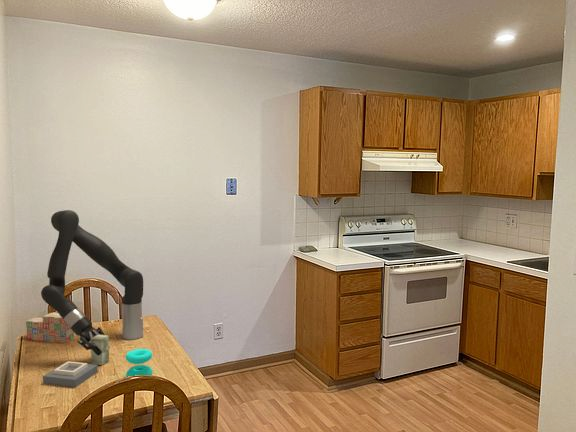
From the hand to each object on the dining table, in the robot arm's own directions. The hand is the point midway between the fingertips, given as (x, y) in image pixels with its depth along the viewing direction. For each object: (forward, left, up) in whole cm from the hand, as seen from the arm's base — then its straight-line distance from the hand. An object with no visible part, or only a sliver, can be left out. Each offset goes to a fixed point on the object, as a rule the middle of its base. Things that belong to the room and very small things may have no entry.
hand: (104, 351), depth 201 cm
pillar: (+1, -1, -5) cm, 5 cm away
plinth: (+13, +9, -5) cm, 17 cm away
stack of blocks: (+19, -42, -6) cm, 46 cm away
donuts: (-11, +20, -5) cm, 23 cm away
